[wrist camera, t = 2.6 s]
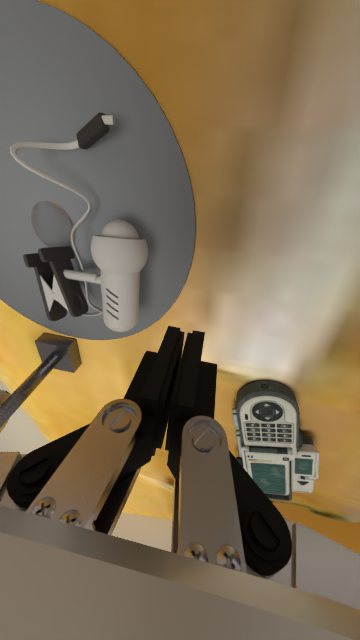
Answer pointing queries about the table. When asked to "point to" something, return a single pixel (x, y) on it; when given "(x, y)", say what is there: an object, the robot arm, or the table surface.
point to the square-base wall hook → (41, 371)
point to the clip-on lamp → (107, 251)
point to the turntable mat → (85, 166)
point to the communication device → (274, 441)
